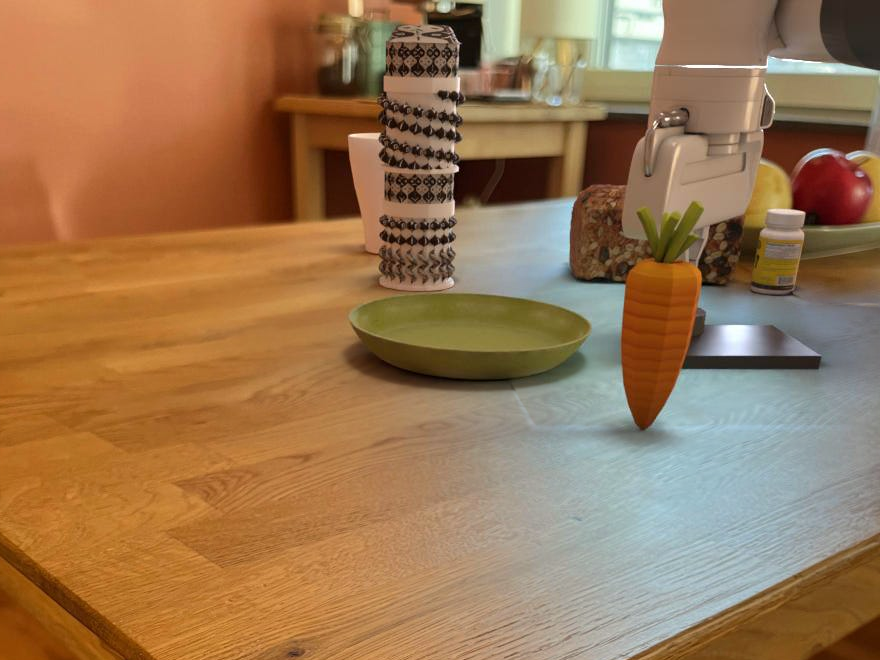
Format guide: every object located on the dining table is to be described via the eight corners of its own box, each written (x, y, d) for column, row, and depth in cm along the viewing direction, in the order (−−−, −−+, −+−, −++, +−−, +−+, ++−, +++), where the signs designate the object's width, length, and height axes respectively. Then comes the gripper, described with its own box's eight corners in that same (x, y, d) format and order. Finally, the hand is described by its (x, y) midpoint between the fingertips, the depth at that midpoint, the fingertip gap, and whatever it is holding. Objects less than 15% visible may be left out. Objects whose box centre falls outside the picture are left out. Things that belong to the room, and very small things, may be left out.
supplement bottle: (755, 285, 118) (770, 207, 113) (797, 290, 116) (813, 210, 111) (744, 292, 114) (759, 211, 110) (787, 297, 112) (804, 215, 108)
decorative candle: (443, 274, 120) (452, 26, 107) (467, 290, 112) (481, 25, 99) (367, 276, 118) (368, 24, 105) (387, 293, 110) (390, 23, 97)
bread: (573, 283, 117) (583, 188, 112) (564, 266, 126) (573, 178, 121) (737, 287, 116) (754, 193, 111) (716, 270, 125) (731, 182, 120)
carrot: (593, 429, 72) (619, 198, 64) (633, 414, 75) (663, 193, 67) (653, 446, 69) (688, 207, 61) (692, 430, 72) (731, 201, 64)
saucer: (326, 381, 81) (326, 340, 79) (369, 321, 98) (370, 287, 97) (590, 397, 78) (595, 355, 77) (586, 333, 96) (589, 298, 94)
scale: (766, 335, 97) (772, 303, 95) (818, 370, 86) (827, 334, 85) (627, 335, 96) (631, 302, 94) (663, 369, 85) (669, 333, 84)
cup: (403, 261, 127) (405, 140, 120) (333, 252, 131) (331, 136, 124) (443, 249, 134) (447, 136, 128) (375, 241, 139) (375, 131, 132)
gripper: (691, 114, 75) (665, 307, 82) (782, 103, 89) (753, 269, 96) (613, 110, 78) (594, 296, 85) (713, 101, 92) (690, 261, 99)
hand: (679, 281), depth 91 cm, fingers closed
